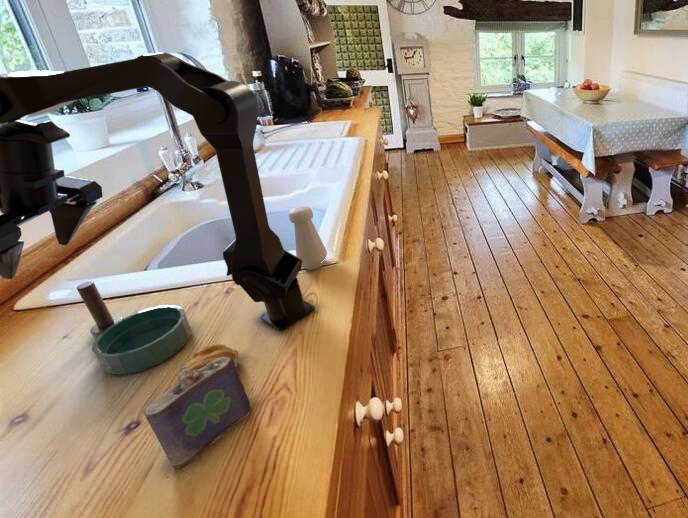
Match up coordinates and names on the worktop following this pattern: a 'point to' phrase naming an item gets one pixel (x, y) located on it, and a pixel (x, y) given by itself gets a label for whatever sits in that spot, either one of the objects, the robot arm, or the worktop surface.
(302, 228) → the salt shaker
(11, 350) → the worktop surface
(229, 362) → the flask
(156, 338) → the bowl
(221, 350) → the pastry
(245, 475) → the worktop surface
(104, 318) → the brown wooden peg
